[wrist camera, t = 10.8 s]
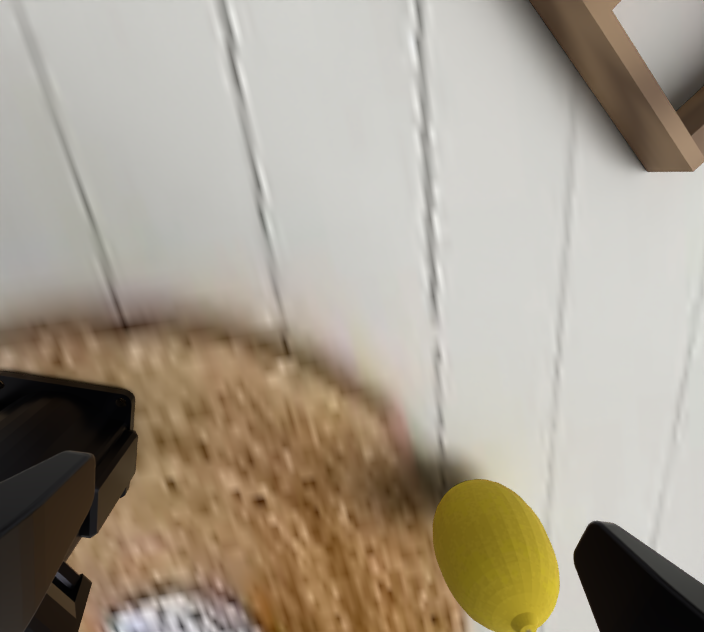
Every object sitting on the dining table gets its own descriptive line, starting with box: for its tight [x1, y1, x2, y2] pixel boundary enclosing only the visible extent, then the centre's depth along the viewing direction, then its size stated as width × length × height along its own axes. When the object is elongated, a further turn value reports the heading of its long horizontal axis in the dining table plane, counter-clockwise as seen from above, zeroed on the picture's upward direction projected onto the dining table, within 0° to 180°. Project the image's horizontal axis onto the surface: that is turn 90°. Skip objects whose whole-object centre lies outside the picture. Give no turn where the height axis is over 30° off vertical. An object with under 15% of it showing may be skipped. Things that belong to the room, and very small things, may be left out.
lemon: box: [433, 479, 560, 632], centre depth 20 cm, size 6×6×8 cm
